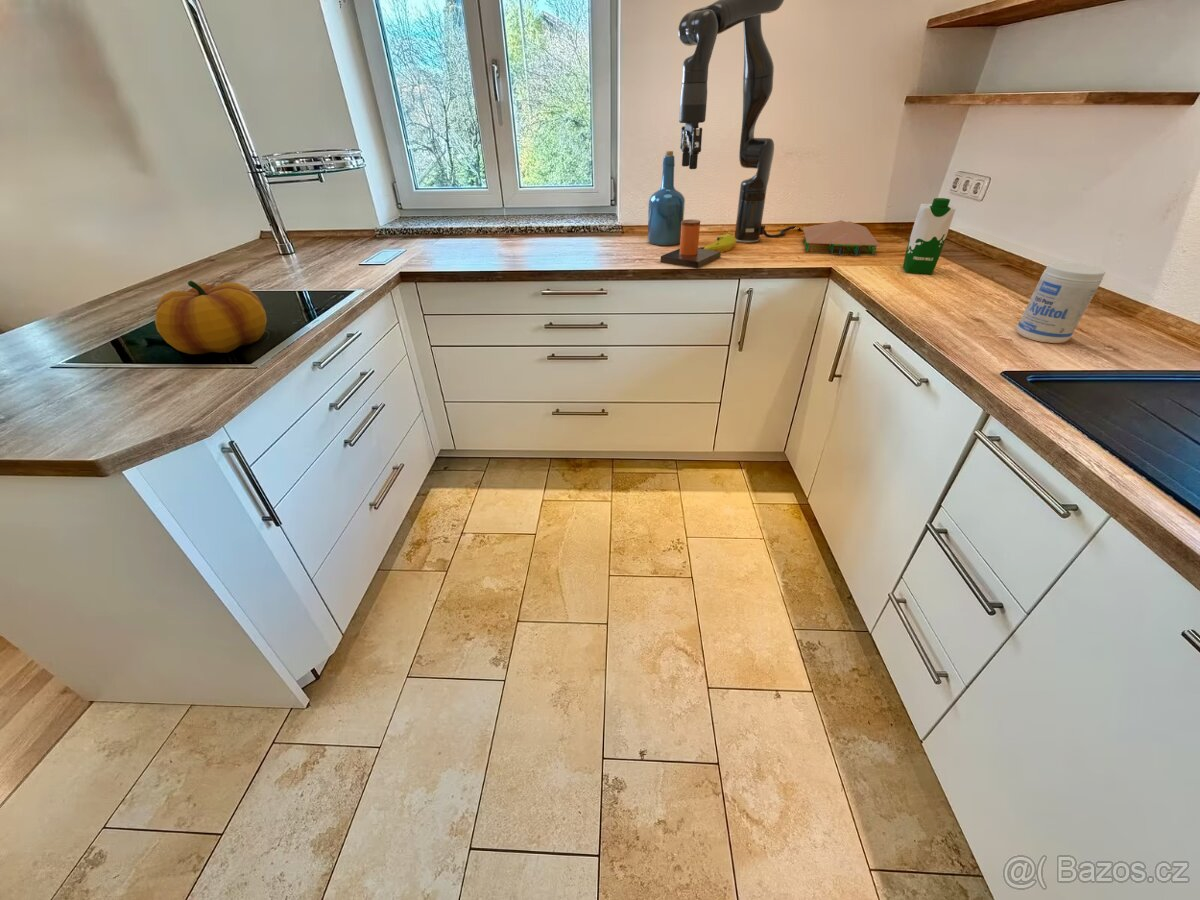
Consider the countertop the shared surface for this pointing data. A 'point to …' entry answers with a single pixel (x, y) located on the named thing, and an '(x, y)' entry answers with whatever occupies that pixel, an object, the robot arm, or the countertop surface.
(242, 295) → the decorative pumpkin
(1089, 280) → the supplement tub
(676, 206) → the wine bottle
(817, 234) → the house
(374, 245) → the countertop surface
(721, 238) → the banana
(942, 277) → the countertop surface
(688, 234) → the tin
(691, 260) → the board
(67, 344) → the countertop surface
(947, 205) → the milk carton
